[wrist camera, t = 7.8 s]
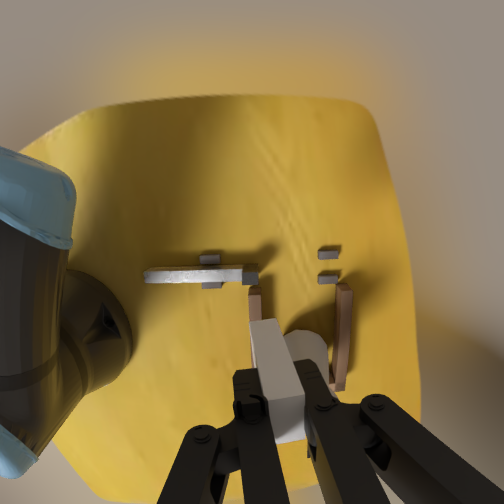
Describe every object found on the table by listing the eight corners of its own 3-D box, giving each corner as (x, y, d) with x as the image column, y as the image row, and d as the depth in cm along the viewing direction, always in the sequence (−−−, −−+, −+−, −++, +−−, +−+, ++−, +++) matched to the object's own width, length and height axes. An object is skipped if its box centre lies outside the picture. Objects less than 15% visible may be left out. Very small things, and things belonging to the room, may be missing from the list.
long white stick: (151, 278, 33) (140, 287, 30) (149, 267, 33) (138, 275, 30) (258, 275, 33) (258, 284, 30) (258, 263, 33) (258, 272, 29)
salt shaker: (281, 316, 34) (292, 384, 21) (330, 327, 34) (363, 394, 21) (266, 361, 35) (269, 439, 22) (314, 370, 35) (335, 446, 23)
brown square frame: (213, 385, 36) (210, 397, 33) (200, 254, 33) (196, 259, 30) (340, 379, 36) (344, 390, 33) (347, 249, 33) (354, 253, 30)
